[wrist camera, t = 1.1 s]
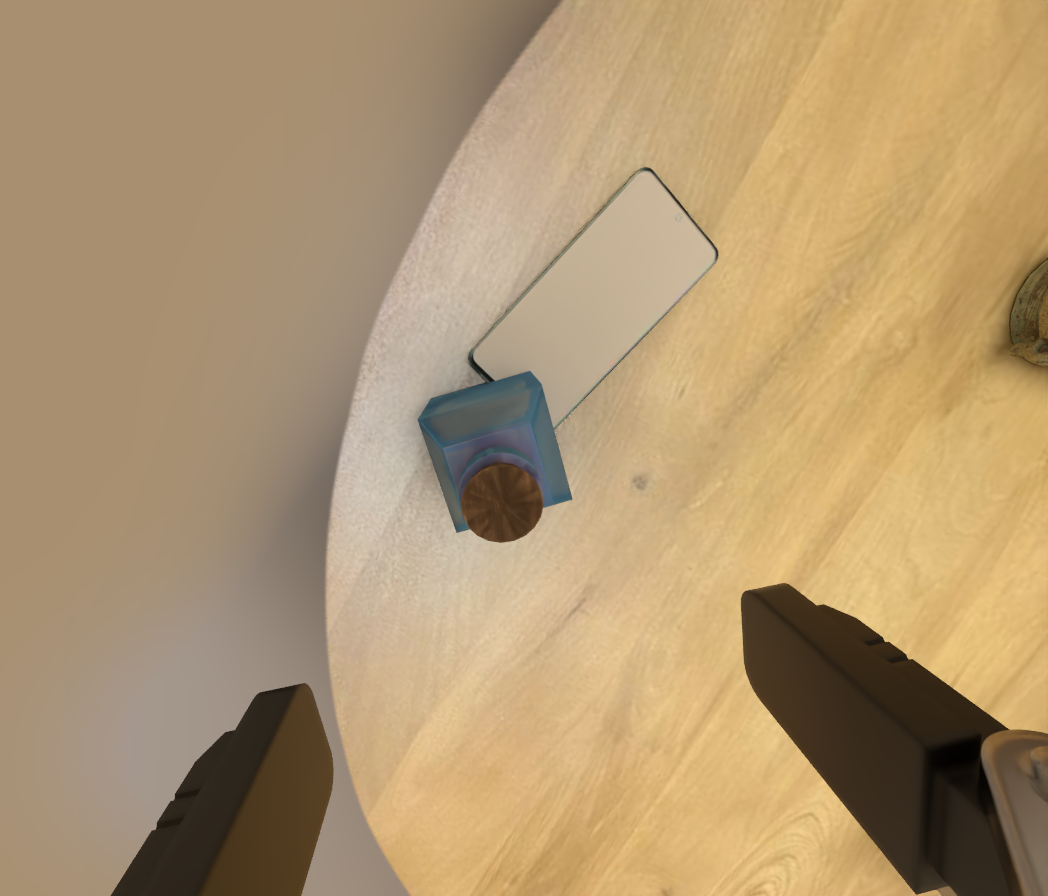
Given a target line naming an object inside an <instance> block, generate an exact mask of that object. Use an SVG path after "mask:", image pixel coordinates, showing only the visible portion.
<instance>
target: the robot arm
mask: <svg viewBox="0 0 1048 896" xmlns="http://www.w3.org/2000/svg"><path fill="white" fill-rule="evenodd" d="M741 613H742V632H743V652H744V664H745V669H746V673H747V676H748V679H749V681H750V684H751V686H752V688H753V690H754V692H755V693H756V695H757V696H758V698H759V699H760V701H761V702H762V703H763V704H764V706H765V707H766V708H767V709H768V711H769V712H770V713H771V714H772V715H773V717H774V718H775V719H776V720H777V722H778V723H779V724H780V725H781V727H782V728H783V729H784V730H785V732H786V733H787V734H788V735H789V737H790V738H791V739H792V740H793V742H794V743H795V744H796V745H797V747H798V748H799V749H800V750H801V752H802V753H803V754H804V755H805V757H806V758H807V759H808V760H809V762H810V763H811V764H812V765H813V767H814V768H815V769H816V770H817V772H818V773H819V774H820V775H821V777H822V778H823V779H824V780H825V782H826V783H827V784H828V785H829V787H830V788H831V789H832V790H833V792H834V793H835V794H836V795H837V797H838V798H839V799H840V800H841V801H842V803H843V804H844V805H845V806H846V808H847V809H848V810H849V811H850V813H851V814H852V815H853V816H854V818H855V819H856V820H857V821H858V823H859V824H860V825H861V826H862V828H863V829H864V830H865V831H866V833H867V834H868V835H869V836H870V838H871V839H872V840H873V841H874V843H875V844H876V845H877V846H878V848H879V849H880V850H881V851H882V853H883V854H884V855H885V856H886V858H887V859H888V860H889V861H890V863H891V864H892V865H893V866H894V868H895V869H896V870H897V871H898V873H899V874H900V875H901V876H902V878H903V879H904V880H905V881H906V882H907V884H908V885H909V886H910V887H911V889H912V890H913V891H914V892H915V894H916V895H917V894H921V893H925V892H928V891H932V890H936V889H939V888H943V887H947V886H949V887H950V888H951V889H952V890H953V891H954V892H955V893H956V895H957V896H1048V734H1046V733H1042V732H1036V731H1030V730H1009V729H1008V728H1006V727H1005V726H1004V725H1002V724H1001V723H1000V722H998V721H997V720H995V719H994V718H993V717H991V716H990V715H989V714H987V713H986V712H984V711H983V710H982V709H980V708H979V707H978V706H976V705H975V704H973V703H972V702H971V701H969V700H968V699H967V698H965V697H964V696H962V695H961V694H960V693H958V692H957V691H956V690H954V689H953V688H951V687H950V686H949V685H947V684H946V683H945V682H943V681H942V680H941V679H939V678H938V677H936V676H935V675H934V674H932V673H931V672H930V671H928V670H927V669H925V668H924V667H923V666H921V665H920V664H919V663H917V662H916V661H914V660H913V659H910V660H909V659H908V658H907V656H906V654H905V653H903V652H902V651H901V650H899V649H898V648H897V647H895V646H894V645H892V644H891V643H890V642H885V641H884V639H883V637H881V636H880V635H879V634H877V633H876V632H875V631H873V630H872V629H871V628H869V627H868V626H866V625H865V624H864V623H862V622H861V621H860V620H858V619H857V618H855V617H852V616H850V615H848V614H845V613H843V612H841V611H838V610H836V609H833V608H831V607H829V606H826V605H824V604H823V605H818V606H817V605H815V604H814V603H813V602H811V601H810V600H809V599H807V598H806V597H805V596H804V595H802V594H801V593H800V592H798V591H797V590H796V589H795V588H793V587H792V586H790V585H789V584H786V583H782V584H777V585H772V586H767V587H763V588H758V589H753V590H748V591H745V592H744V593H743V594H742V597H741ZM332 784H333V759H332V753H331V750H330V746H329V743H328V740H327V737H326V734H325V731H324V728H323V724H322V721H321V718H320V715H319V712H318V709H317V705H316V702H315V699H314V696H313V693H312V690H311V688H310V687H309V686H308V685H307V684H305V683H303V684H298V685H293V686H289V687H284V688H279V689H275V690H270V691H265V692H260V693H259V694H257V695H256V696H255V698H254V699H253V701H252V702H251V704H250V706H249V707H248V709H247V711H246V712H245V714H244V716H243V718H242V719H241V721H240V723H239V724H238V726H237V728H236V730H234V731H229V732H225V733H224V734H223V735H222V736H221V737H220V738H219V739H218V740H217V741H216V742H215V743H214V744H213V745H212V746H211V747H210V748H209V749H208V750H207V751H206V752H205V753H204V754H203V755H202V756H201V757H200V758H199V759H198V760H197V761H196V762H195V763H194V765H193V767H192V768H191V770H190V771H189V773H188V774H187V776H186V778H185V779H184V781H183V782H182V784H181V786H180V787H179V789H178V790H177V792H176V793H175V799H174V801H170V803H169V804H168V806H167V808H166V809H165V811H164V812H163V814H162V816H161V817H160V819H159V820H158V822H157V828H156V830H153V831H151V833H150V835H149V836H148V838H147V839H146V841H145V843H144V844H143V846H142V847H141V849H140V850H139V852H138V854H137V855H136V857H135V858H134V860H133V861H132V863H131V864H130V866H129V868H128V869H127V871H126V872H125V874H124V876H123V877H122V879H121V880H120V882H119V883H118V885H117V887H116V888H115V890H114V891H113V893H112V895H111V896H301V894H302V890H303V887H304V884H305V880H306V877H307V874H308V870H309V867H310V864H311V860H312V857H313V853H314V850H315V847H316V843H317V840H318V836H319V833H320V830H321V826H322V823H323V820H324V816H325V812H326V809H327V806H328V802H329V799H330V796H331V791H332Z"/></svg>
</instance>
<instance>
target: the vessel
mask: <svg viewBox="0 0 1048 896" xmlns="http://www.w3.org/2000/svg"><path fill="white" fill-rule="evenodd" d="M1010 329H1011V337H1012V341H1013V343H1014V345H1013V346H1012V347H1011V348H1010V349H1009V353H1010V354H1011V355H1014V356H1017V355H1020V356H1023V357H1024V358H1025V359H1026V360H1027V361H1030V362H1032V363H1035V364H1037V365H1040V366H1043V367H1048V259H1047V260H1046V261H1045V262H1043V263H1042V264H1041V265H1040V266H1039V267H1038V268H1037V269H1036V270H1035V271H1034V272H1033V273H1031V274H1030V275H1029V277H1028V279H1027V280H1026V282H1025V283H1024V285H1023V286H1022V288H1021V289H1020V291H1019V293H1018V294H1017V297H1016V300H1015V304H1014V307H1013V310H1012V313H1011V322H1010Z"/></svg>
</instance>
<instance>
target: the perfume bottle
mask: <svg viewBox="0 0 1048 896" xmlns="http://www.w3.org/2000/svg"><path fill="white" fill-rule="evenodd" d="M418 422H419V425H420V428H421V431H422V434H423V436H424V439H425V442H426V445H427V448H428V451H429V454H430V457H431V460H432V462H433V465H434V468H435V471H436V474H437V477H438V480H439V483H440V486H441V489H442V491H443V494H444V497H445V500H446V503H447V506H448V509H449V512H450V515H451V518H452V520H453V523H454V526H455V529H456V532H457V533H458V532H461V531H465V530H468V529H471V530H472V531H473V532H474V533H475V534H476V535H477V536H480V537H482V538H484V539H486V540H488V541H493V542H500V543H502V542H509V541H514V540H517V539H519V538H521V537H523V536H525V535H526V534H528V533H529V532H530V531H531V530H532V529H533V528H534V527H535V526H536V524H537V522H538V521H539V519H540V517H541V514H542V509H543V508H545V507H548V506H551V505H555V504H558V503H562V502H565V501H569V500H572V496H571V493H570V489H569V485H568V481H567V478H566V474H565V470H564V466H563V462H562V459H561V455H560V451H559V447H558V443H557V440H556V436H555V432H554V428H553V425H552V421H551V417H550V413H549V409H548V406H547V402H546V398H545V394H544V391H543V387H542V384H541V383H540V381H539V380H538V379H537V378H536V377H535V376H534V375H533V373H532V372H531V371H527V372H524V373H521V374H517V375H514V376H510V377H507V378H503V379H500V380H497V381H493V382H490V383H489V382H487V383H483V384H480V385H476V386H473V387H469V388H466V389H463V390H459V391H456V392H452V393H449V394H445V395H442V396H438V397H435V398H431V399H430V401H429V403H428V404H427V406H426V407H425V409H424V410H423V412H422V414H421V415H420V417H419V418H418Z"/></svg>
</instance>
